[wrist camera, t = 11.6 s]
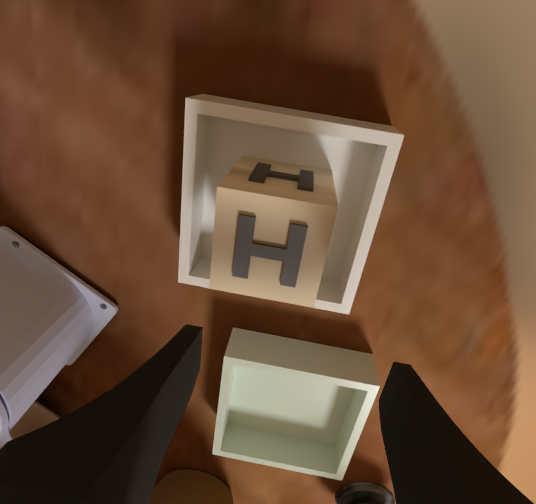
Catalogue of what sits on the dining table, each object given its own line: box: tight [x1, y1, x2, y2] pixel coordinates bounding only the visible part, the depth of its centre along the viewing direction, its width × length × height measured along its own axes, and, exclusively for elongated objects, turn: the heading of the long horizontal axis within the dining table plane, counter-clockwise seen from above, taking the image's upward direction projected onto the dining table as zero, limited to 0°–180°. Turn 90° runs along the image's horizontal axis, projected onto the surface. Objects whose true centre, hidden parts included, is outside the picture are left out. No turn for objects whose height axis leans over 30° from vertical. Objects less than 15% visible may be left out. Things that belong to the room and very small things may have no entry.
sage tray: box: [212, 327, 380, 481], centre depth 27 cm, size 10×10×3 cm
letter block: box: [209, 156, 338, 308], centre depth 19 cm, size 5×5×6 cm
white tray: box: [178, 94, 404, 314], centre depth 20 cm, size 10×10×3 cm
